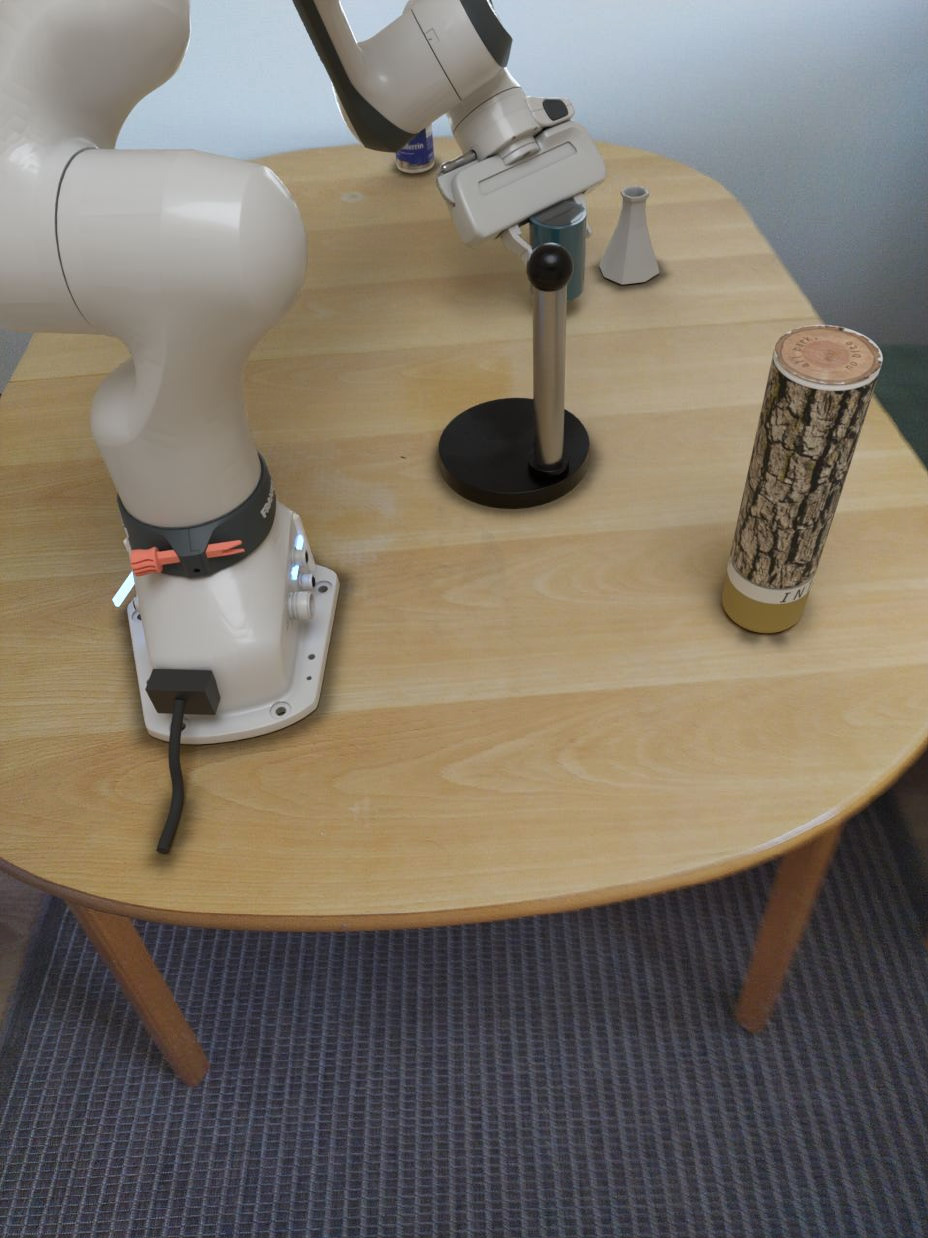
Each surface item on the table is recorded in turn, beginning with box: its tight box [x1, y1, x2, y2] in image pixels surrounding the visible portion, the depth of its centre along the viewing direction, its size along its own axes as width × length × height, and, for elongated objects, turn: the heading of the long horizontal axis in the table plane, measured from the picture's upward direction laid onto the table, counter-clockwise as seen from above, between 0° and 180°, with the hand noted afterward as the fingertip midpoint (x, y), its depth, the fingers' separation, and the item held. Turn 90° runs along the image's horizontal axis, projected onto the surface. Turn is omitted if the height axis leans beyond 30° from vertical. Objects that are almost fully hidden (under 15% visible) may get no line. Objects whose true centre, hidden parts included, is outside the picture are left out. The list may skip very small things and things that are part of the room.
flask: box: [598, 184, 660, 285], centre depth 114 cm, size 7×7×10 cm
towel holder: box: [438, 243, 590, 510], centre depth 86 cm, size 15×15×24 cm
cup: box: [528, 201, 588, 303], centre depth 108 cm, size 6×6×9 cm
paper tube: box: [721, 324, 884, 634], centre depth 71 cm, size 7×7×25 cm
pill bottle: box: [394, 122, 435, 174], centre depth 138 cm, size 6×6×10 cm
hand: (561, 251), depth 107 cm, fingers closed on cup, 6 cm apart
